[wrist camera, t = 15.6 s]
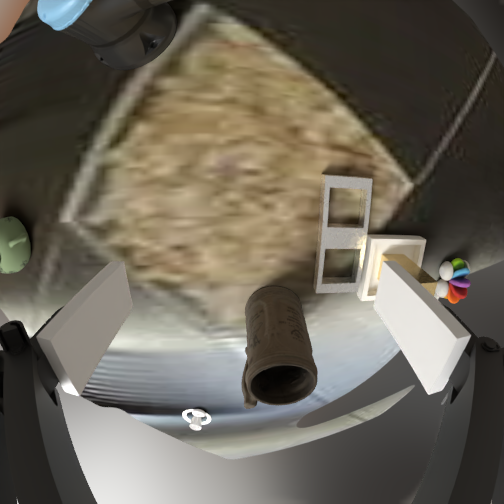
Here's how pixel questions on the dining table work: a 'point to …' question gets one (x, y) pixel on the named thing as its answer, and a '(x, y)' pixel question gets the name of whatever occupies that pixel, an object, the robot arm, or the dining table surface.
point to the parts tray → (386, 245)
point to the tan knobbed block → (411, 270)
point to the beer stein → (277, 350)
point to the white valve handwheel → (196, 418)
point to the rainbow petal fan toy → (453, 280)
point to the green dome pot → (13, 245)
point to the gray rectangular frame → (342, 234)
